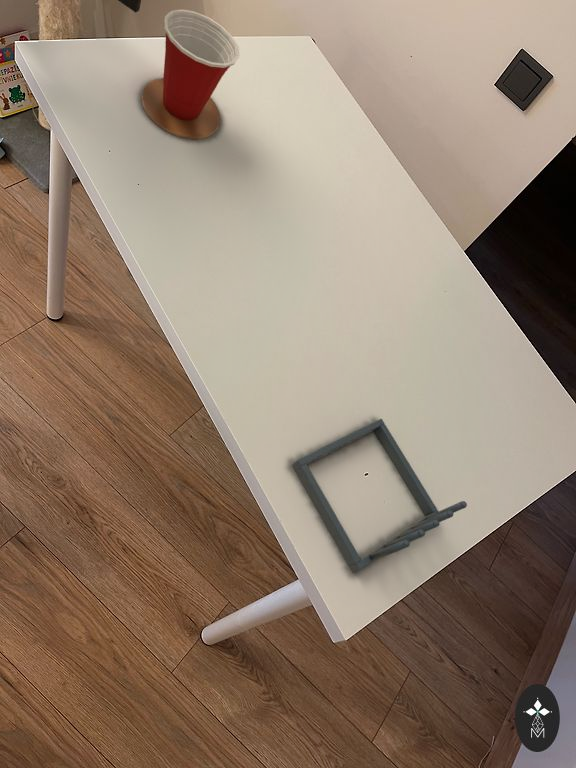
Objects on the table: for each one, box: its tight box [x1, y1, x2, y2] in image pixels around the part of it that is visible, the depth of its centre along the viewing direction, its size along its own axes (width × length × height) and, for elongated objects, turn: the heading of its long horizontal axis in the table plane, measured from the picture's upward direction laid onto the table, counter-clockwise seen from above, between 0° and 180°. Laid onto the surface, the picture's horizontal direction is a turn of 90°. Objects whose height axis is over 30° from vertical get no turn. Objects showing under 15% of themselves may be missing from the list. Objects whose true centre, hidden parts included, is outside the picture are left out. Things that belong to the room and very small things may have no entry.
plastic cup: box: [162, 8, 241, 120], centre depth 86 cm, size 11×11×12 cm
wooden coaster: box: [141, 77, 221, 140], centre depth 91 cm, size 12×12×1 cm
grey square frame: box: [291, 418, 468, 573], centre depth 70 cm, size 14×14×9 cm
